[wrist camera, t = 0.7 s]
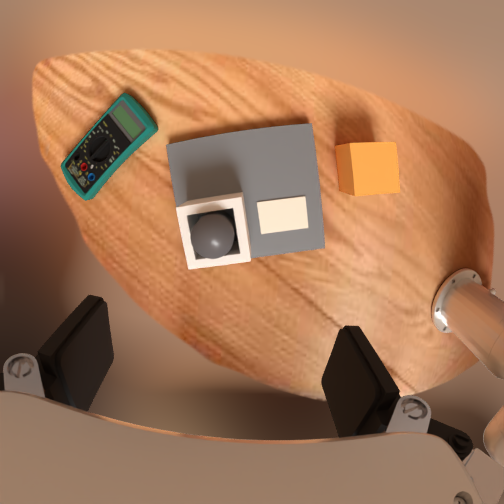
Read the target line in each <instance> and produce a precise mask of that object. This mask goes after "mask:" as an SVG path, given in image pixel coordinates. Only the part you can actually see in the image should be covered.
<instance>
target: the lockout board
mask: <svg viewBox="0 0 504 504" xmlns="http://www.w3.org/2000/svg"><path fill="white" fill-rule="evenodd" d="M166 147H167V154H168V160H169V166H170V173H171V179H172V185H173V190H174V196H175V202H176V211H177V216H178V221H179V226H180V231H181V236H182V241H183V246H184V250H185V255H186V260H187V264H188V269H196V268H204V267H211V266H219V265H226V264H234V263H242V262H249V261H251V258H256V257H263V256H271V255H278V254H285V253H293V252H300V251H307V250H314V249H322V248H325V240H324V227H323V215H322V204H321V193H320V184H319V175H318V166H317V158H316V150H315V143H314V136H313V129H312V123H310V124H297V125H286V126H276V127H267V128H258V129H251V130H244V131H237V132H230V133H224V134H218V135H212V136H207V137H201V138H196V139H191V140H186V141H181V142H177V143H172V144H168V145H166ZM217 210H218V211H223V212H225V213H227V214H228V215H229V216H230V217H231V218H232V219H233V221H234V224H235V236H234V240H233V245H232V247H231V249H230V251H229V252H228V253H227V254H226V255H224V256H222V257H220V258H217V259H208V258H205V257H203V256H201V255H199V254H198V253H197V252H196V251H195V250H194V248H193V246H192V244H191V239H190V236H191V231H192V228H193V227H194V225H195V224H196V223H197V222H198V220H199V219H200V218H201V217H202V216H203V215H204V214H206V213H207V212H210V211H217Z"/></svg>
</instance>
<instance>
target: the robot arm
mask: <svg viewBox="0 0 504 504" xmlns="http://www.w3.org/2000/svg"><path fill="white" fill-rule="evenodd" d="M495 293H496V291H495V289H494V288H492V289H489V290H488V289H486V288H485V287H483V286H482V282H481V278H480V276H479V275H478V274H477V272H475V271H473V270H471V269H469V268H464V269H460V270H458V271H456V272H454V273H453V274H452V275H450V276H449V277H448V278H447V279H446V280H445V282H444V283H443V284H442V285H441V287H440V289H439V290H438V292H437V294H436V296H435V299H434V302H433V306H432V314H431V316H432V321H433V324H434V325H435V327H436V328H437V329H438V330H439V331H441V332H444V333H449V332H453V333H454V334H455V335H456V336H457V337H458V338H459V339H460V340H461V341H462V342H463V343H464V344H465V345H466V346H467V347H468V348H469V349H470V350H471V351H472V352H473V353H474V354H475V356H476V357H477V358H478V359H479V360H480V361H481V362H482V363H483V364H484V365H485V366H486V367H487V369H488V370H489V371H490V372H491V373H492V374H493V375H494V376H496V377H497V378H500V379H504V301H502V300H501V299H499V298H498V297H497V296H495ZM113 359H114V353H113V346H112V340H111V333H110V325H109V317H108V308H107V303H106V302H105V301H104V300H103V298H101V297H98V296H93V295H88V296H87V297H86V298H85V299H84V300H83V301H82V302H81V304H80V305H79V306H78V307H77V308H76V309H75V310H74V311H73V312H72V313H71V314H70V315H69V316H68V318H67V319H66V320H65V321H64V322H63V323H62V324H61V325H60V327H59V328H58V329H57V330H56V331H55V332H54V333H53V334H52V335H51V337H50V338H49V339H48V340H47V341H46V342H45V344H44V345H43V346H42V347H41V348H40V350H39V351H38V355H37V356H36V357H35V358H34V357H33V356H31V355H29V354H17V355H14V356H12V357H10V358H9V359H8V360H7V361H6V363H5V364H4V369H3V370H4V371H3V372H4V373H0V504H497V503H498V501H499V499H500V497H501V495H502V493H503V491H504V405H503V406H502V408H501V409H500V410H499V411H498V413H497V414H496V415H495V416H494V418H493V419H492V420H491V421H490V423H489V424H488V425H487V427H486V429H485V431H484V437H483V439H484V445H485V447H486V449H487V451H488V453H489V454H490V456H491V457H492V458H490V457H489V456H487V455H486V454H485V453H483V452H482V451H480V450H479V449H477V448H476V449H475V450H473V443H472V440H471V439H470V437H469V436H468V435H467V434H466V433H464V432H462V431H460V430H458V429H455V428H453V427H450V426H448V425H445V424H443V423H441V422H438V421H436V420H433V419H431V418H430V417H431V410H430V407H429V405H428V404H427V403H426V402H425V401H424V400H423V399H421V398H419V397H416V396H410V395H407V396H403V397H402V398H401V397H400V395H399V392H400V390H399V389H398V387H397V385H396V384H395V382H394V381H393V379H392V377H391V376H390V374H389V372H388V371H387V369H386V368H385V366H384V364H383V363H382V361H381V360H380V358H379V356H378V355H377V353H376V352H375V350H374V349H373V347H372V345H371V344H370V342H369V341H368V339H367V338H366V336H365V335H364V333H363V332H362V330H361V328H360V327H359V326H344V328H343V329H340V330H339V332H338V335H337V338H336V341H335V344H334V347H333V349H332V352H331V355H330V358H329V360H328V363H327V366H326V368H325V371H324V374H323V376H322V382H321V383H322V387H323V390H324V393H325V396H326V399H327V402H328V405H329V408H330V411H331V414H332V417H333V420H334V423H335V426H336V429H337V433H338V436H339V438H328V439H314V440H278V441H277V440H243V439H228V438H217V437H207V436H198V435H190V434H184V433H177V432H171V431H165V430H160V429H154V428H150V427H144V426H140V425H135V424H131V423H127V422H123V421H119V420H115V419H112V418H108V417H104V416H101V415H97V414H94V413H91V412H88V410H89V407H90V405H91V403H92V401H93V399H94V397H95V395H96V393H97V391H98V389H99V387H100V385H101V383H102V381H103V379H104V378H105V376H106V374H107V372H108V370H109V368H110V366H111V364H112V362H113Z"/></svg>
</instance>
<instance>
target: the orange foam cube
mask: <svg viewBox="0 0 504 504" xmlns="http://www.w3.org/2000/svg"><path fill="white" fill-rule="evenodd" d="M335 153H336V162H337V171H338V180H339V191H341V192H344V193H347V194H350V195H353V196H363V195H374V194H385V193H398V192H400V184H399V170H398V158H397V149H396V142H365V143H347V144H342V145H337V146H335Z"/></svg>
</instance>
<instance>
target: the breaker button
mask: <svg viewBox="0 0 504 504" xmlns="http://www.w3.org/2000/svg"><path fill="white" fill-rule="evenodd" d="M234 236H235V224H234V221H233V219H232V218H231V217H230V216H229V215H228V214H227V213H225V212H223V211H218V210H217V211H210V212H207V213H206V214H204V215H203V216H202V217H201V218H200V219H199V220H198V222H197V223H196V224H195V225H194V227H193V228H192V231H191V236H190V239H191V244H192V246H193V248H194V250H195V251H196V252H197V253H198V254H199V255H201V256H203V257H205V258H208V259H217V258H220V257H222V256H224V255H226V254H227V253H228V252H229V251H230V249H231V247H232V245H233V240H234Z"/></svg>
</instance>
